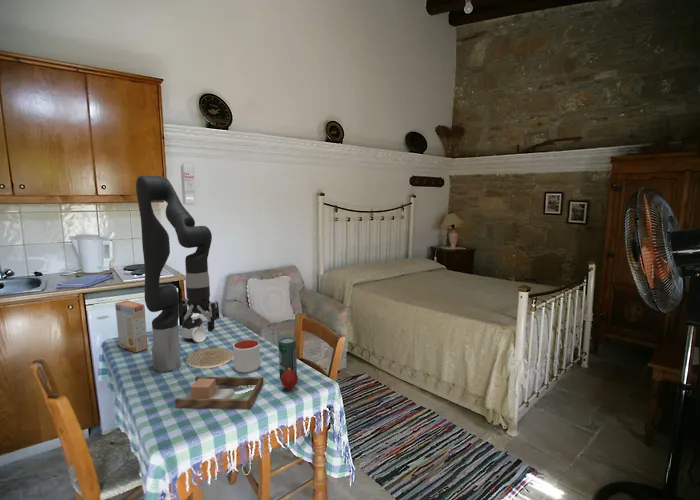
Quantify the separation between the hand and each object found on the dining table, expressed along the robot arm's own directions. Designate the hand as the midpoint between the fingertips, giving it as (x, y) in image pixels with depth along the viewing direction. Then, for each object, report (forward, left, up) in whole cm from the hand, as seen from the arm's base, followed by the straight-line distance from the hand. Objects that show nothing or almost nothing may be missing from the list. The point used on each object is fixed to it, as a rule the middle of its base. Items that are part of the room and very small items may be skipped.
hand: (200, 329), depth 134 cm
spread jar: (-23, +46, -22) cm, 56 cm away
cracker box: (-47, +35, -22) cm, 62 cm away
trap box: (+8, -5, -22) cm, 24 cm away
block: (+2, -5, -22) cm, 22 cm away
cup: (+11, +16, -22) cm, 29 cm away
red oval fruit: (+31, 0, -22) cm, 38 cm away
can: (+29, +8, -22) cm, 37 cm away
